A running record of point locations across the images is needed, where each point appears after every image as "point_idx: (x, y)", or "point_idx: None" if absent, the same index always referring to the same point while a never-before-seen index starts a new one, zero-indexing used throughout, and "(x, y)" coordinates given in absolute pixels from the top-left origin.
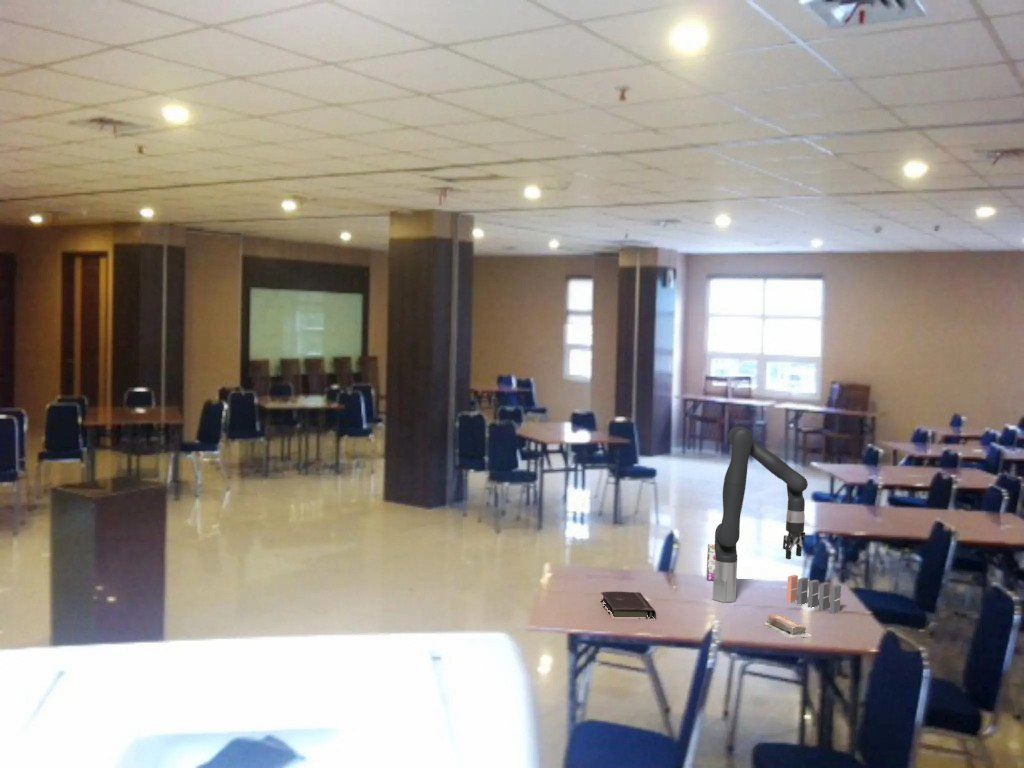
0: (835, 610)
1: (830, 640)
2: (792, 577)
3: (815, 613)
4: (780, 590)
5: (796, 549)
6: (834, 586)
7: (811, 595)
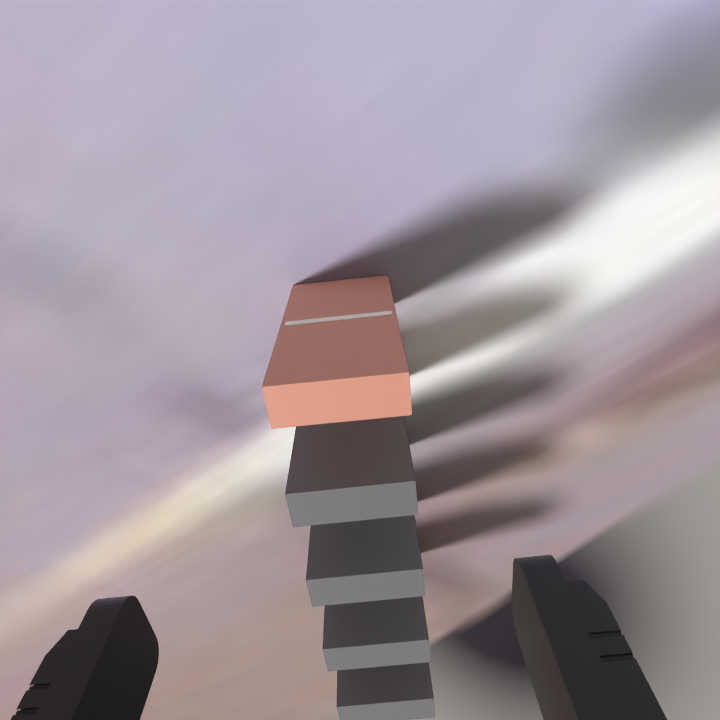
0: None
1: (11, 717)
2: (290, 426)
3: (255, 518)
4: (560, 3)
5: (569, 695)
6: (369, 711)
7: None
